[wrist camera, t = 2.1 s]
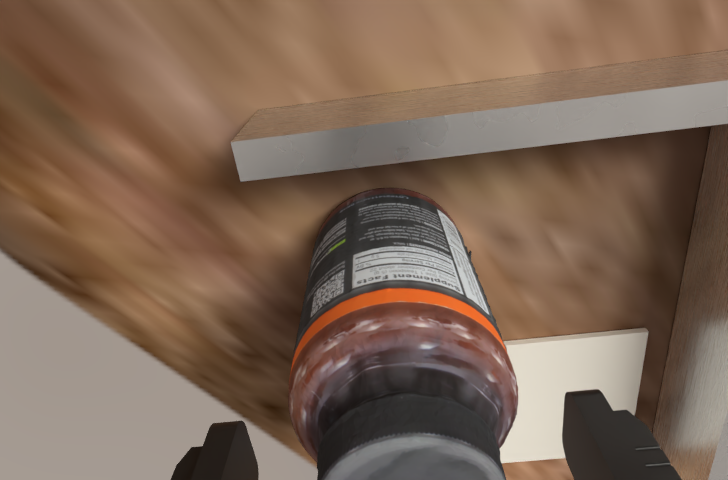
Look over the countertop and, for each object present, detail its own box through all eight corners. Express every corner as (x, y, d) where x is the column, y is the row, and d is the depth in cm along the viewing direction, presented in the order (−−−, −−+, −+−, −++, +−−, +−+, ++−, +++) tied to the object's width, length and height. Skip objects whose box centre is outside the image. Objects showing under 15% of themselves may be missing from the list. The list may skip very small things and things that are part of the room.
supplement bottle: (431, 325, 22) (485, 613, 12) (299, 291, 21) (239, 570, 11) (485, 205, 19) (615, 446, 9) (337, 162, 19) (304, 373, 9)
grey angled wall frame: (257, 110, 18) (230, 142, 14) (763, 45, 17) (871, 62, 13) (335, 461, 26) (330, 537, 22) (676, 432, 25) (728, 507, 21)
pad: (471, 344, 22) (472, 348, 22) (645, 327, 22) (648, 331, 22) (475, 460, 26) (476, 465, 26) (625, 447, 25) (628, 452, 25)
